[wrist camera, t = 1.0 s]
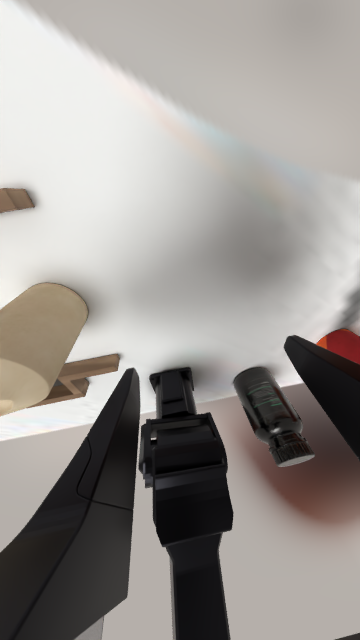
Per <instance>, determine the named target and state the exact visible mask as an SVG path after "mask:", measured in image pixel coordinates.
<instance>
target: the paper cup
mask: <svg viewBox="0 0 360 640" xmlns="http://www.w3.org/2000/svg"><path fill="white" fill-rule="evenodd" d="M316 345H318V346H321V347H323V348H325V349H327V350H329V351H332V352H334V353H336V354H338V355H340V356H342V357H345V358H347V359H349V360H351V361H353V362H356V363H358V364H360V336H358V335H356V334H354V333H353V332H351V331H349V330H346V329H340V330H336V331H334V332H331V333H329V334H328V335H326V336H324V337H323V338H322V339H321V340H320V341H319V342H318V343H317V344H316Z"/></svg>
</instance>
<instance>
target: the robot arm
mask: <svg viewBox="0 0 360 640" xmlns="http://www.w3.org/2000/svg"><path fill="white" fill-rule="evenodd" d="M284 349H285V351H286V353H287V355H288V357H289V358H290V360H291V362H292V364H293V366H294V367H295V369H296V371H297V372H298V374H299V375H300V377H301V378H302V380H303V381H304V383H305V384H306V385H307V387H308V388H309V390H310V391H311V393H312V394H313V395H314V397H315V398H316V400H317V401H318V402H319V404H320V405H321V407H322V408H323V410H324V411H325V412H326V414H327V415H328V417H329V418H330V419H331V421H332V422H333V424H334V425H335V426H336V428H337V429H338V431H339V432H340V434H341V435H342V436H343V438H344V439H345V441H346V442H347V444H348V445H349V446H350V448H351V449H352V451H353V452H354V453H355V455H356V456H357V457H358V459H359V461H360V364H358V363H356V362H353V361H351V360H349V359H347V358H345V357H342V356H340V355H338V354H336V353H334V352H332V351H329V350H327V349H325V348H323V347H321V346H318V345H316V344H314V343H312V342H310V341H308V340H305V339H303V338H301V337H299V336H296V335H292V336H288V337H287V339H286V342H285V344H284ZM149 380H150V382H151V384H152V387H153V389H154V391H155V394H156V419H152V420H151V419H146V424H144V425H142V426H141V442H140V454H139V471H140V472H141V473H142V474H143V479H145V488H150V487H153V521H154V524H155V526H156V532H157V534H158V537H159V540H160V543H161V545H162V547H166V549H167V552H168V554H169V556H170V576H171V599H172V600H171V601H172V627H173V640H230V633H229V625H228V618H227V611H226V603H225V596H224V589H223V582H222V574H221V567H220V559H219V546H220V542H221V538H222V533H223V532H227V531H230V530H231V529H232V523H233V509H232V505H231V500H230V496H229V490H228V485H227V478H226V473H227V469H228V466H227V465H228V464H227V456H226V452H225V448H224V445H223V442H222V439H221V437H220V435H219V432H218V430H217V427H216V425H215V423H214V421H213V418H212V415H211V413H210V412H209V413H205V414H197V412H196V406H195V402H194V397H193V392H192V391H194V387H193V380H192V374H191V369H190V368H184V369H179V370H174V371H169V372H164V373H159V374H154V375H151V376H150V377H149ZM139 420H140V385H139V376H138V374H137V372H136V370H135V368H129V369H127V370H126V371H125V373H124V374H123V376H122V378H121V379H120V381H119V383H118V384H117V386H116V388H115V389H114V391H113V393H112V394H111V396H110V398H109V399H108V401H107V403H106V404H105V406H104V408H103V409H102V411H101V413H100V414H99V416H98V418H97V419H96V421H95V423H94V424H93V426H92V428H91V429H90V432H89V433H88V435H87V437H86V438H85V439H84V441H83V443H82V444H81V446H80V448H79V449H78V451H77V453H76V454H75V456H74V457H73V459H72V460H71V462H70V463H69V465H68V466H67V468H66V469H65V471H64V472H63V474H62V475H61V477H60V478H59V480H58V481H57V482H56V484H55V485H54V487H53V488H52V490H51V491H50V492H49V494H48V495H47V497H46V498H45V500H44V501H43V502H42V504H41V505H40V507H39V508H38V510H37V511H36V512H35V514H34V515H33V517H32V518H31V519H30V521H29V522H28V523H27V525H26V526H25V527H24V528H23V529H22V530H21V532H20V533H19V534H18V535H17V536H16V537H15V538H14V540H13V541H12V542H11V543H10V544H9V545H8V546H7V547H6V548H5V549H3V551H2V552H0V640H101V638H102V629H103V621H104V615H106V614H107V613H108V612H109V611H111V610H112V609H113V608H114V607H116V606H117V605H118V604H119V603H121V602H122V601H123V600H125V599H126V598H127V593H128V581H129V566H130V552H131V537H132V522H133V507H134V492H135V478H136V463H137V449H138V434H139ZM155 437H156V440H151V438H155ZM335 640H360V633H358V634H354V635H350V636H346V637H343V638H339V639H335Z"/></svg>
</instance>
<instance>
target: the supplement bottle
mask: <svg viewBox="0 0 360 640" xmlns="http://www.w3.org/2000/svg"><path fill="white" fill-rule="evenodd" d="M234 388H235V390H236V392H237V395H238V397H239V399H240V402H241V404H242V406H243V408H244V411H245V413H246V415H247V418H248V420H249V422H250V425H251V427H252V429H253V431H254V433H255V435H256V437H257V438H258V439H259V440H260V441H262V442H264V443H267V444H269V446H270V448H269V451H270V453H271V454H272V456H273V458H274V460H275V462H276V464H277V466H279V467H284V466H290V465H294V464H298V463H301V462H304V461H307V460H309V459H311V458H313V457H314V456H315V454H314V452H313V451H312V449H311V448H310V446H309V444H308V442H307V440H306V439H305V438H303V437H302V436H301V431H302V429H303V422H302V420H301V418H300V416H299V415H298V413H297V412H296V410H295V409H294V407H293V406H292V404H291V403H290V401H289V400H288V398H287V397H286V395H285V394H284V393H283V391H282V390H281V388H280V387H279V385H278V384H277V382H276V381H275V379H274V378H273V376H272V375H271V373H270V372H269V371H268V370H266V369H264V368H252V369H249V370H246V371H244V372H242V373H241V374H239V375H238V376H237V377H236V379H235V381H234Z"/></svg>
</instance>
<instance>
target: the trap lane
mask: <svg viewBox="0 0 360 640" xmlns="http://www.w3.org/2000/svg"><path fill="white" fill-rule="evenodd" d="M32 207H34V205H33V203H32V201H31V200H30V198H29V196H28V194H27V193H26V191H25V189H10V188H2V189H0V213H2V212H8V211H14V210H20V209H26V208H32ZM119 360H120V358H119V356H118V354H113V355H108V356H103V357H98V358H93V359H88V360H83V361H78V362H73V363H67V364H64V365H63V367H62V369H61V371H60V373H59V375H58V377H57V379H56V381H55V383H54V385H53V387H52V389H51V391H50V393H49V395H48V396H47V397H46V398H45V399H44V400H42V401H40V402H38V403H36V404H34V405H32V406H30V407H27V408H31V407H36V406H41V405H46V404H51V403H55V402H60V401H65V400H70V399H75V398H80V397H85V395H86V392H87V389H88V386H89V382H88V381H87V380H86V379H85V377H90V376H95V375H100V374H105V373H110V372H115V371H118V366H119Z"/></svg>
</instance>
